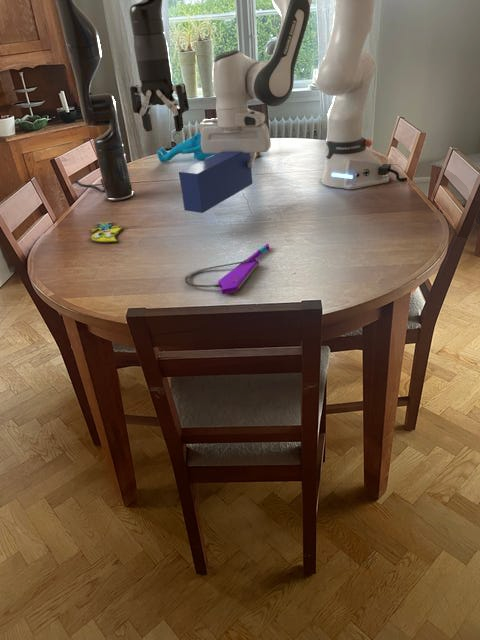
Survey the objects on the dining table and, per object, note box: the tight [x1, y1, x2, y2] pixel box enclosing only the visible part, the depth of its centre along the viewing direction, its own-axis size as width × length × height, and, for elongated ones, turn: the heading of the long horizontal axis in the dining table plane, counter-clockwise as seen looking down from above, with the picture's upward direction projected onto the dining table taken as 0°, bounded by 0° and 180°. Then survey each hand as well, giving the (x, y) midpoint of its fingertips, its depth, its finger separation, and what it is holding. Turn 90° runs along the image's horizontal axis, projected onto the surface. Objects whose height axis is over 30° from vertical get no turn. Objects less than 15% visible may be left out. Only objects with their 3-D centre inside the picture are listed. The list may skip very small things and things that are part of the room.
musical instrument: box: [184, 243, 270, 295], centre depth 114 cm, size 24×2×20 cm
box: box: [178, 152, 253, 214], centre depth 135 cm, size 26×6×10 cm, turn 147°
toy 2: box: [156, 132, 216, 163], centre depth 201 cm, size 17×11×30 cm
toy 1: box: [90, 221, 124, 244], centre depth 141 cm, size 10×1×15 cm
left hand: (164, 131), depth 119 cm, fingers open, 8 cm apart
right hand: (237, 168), depth 141 cm, fingers closed on box, 7 cm apart
